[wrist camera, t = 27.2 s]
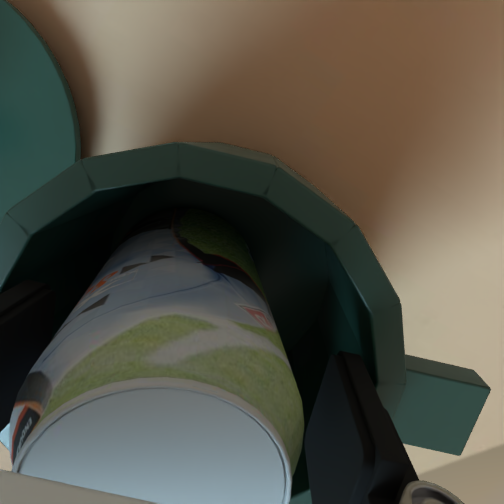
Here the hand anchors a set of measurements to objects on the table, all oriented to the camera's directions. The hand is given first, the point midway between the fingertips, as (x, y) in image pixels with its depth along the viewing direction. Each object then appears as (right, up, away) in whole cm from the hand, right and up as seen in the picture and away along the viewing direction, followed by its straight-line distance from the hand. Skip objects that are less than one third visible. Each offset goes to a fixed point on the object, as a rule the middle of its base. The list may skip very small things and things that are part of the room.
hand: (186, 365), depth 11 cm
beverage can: (0, +2, +7) cm, 8 cm away
